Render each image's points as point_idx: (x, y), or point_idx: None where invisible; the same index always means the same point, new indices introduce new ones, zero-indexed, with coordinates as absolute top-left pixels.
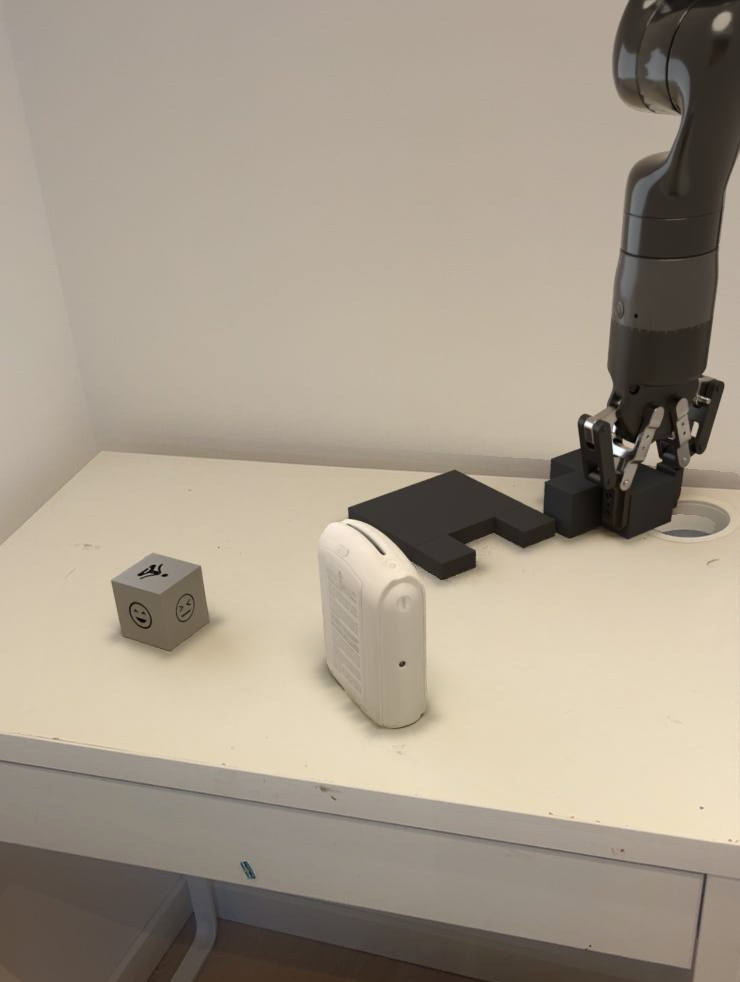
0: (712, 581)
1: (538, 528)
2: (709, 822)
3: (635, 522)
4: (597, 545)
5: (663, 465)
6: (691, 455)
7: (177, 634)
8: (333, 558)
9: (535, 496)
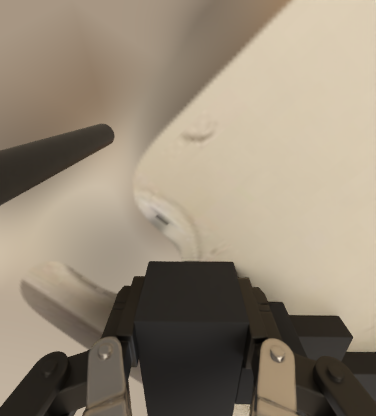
0: (254, 79)
1: (325, 333)
2: None
3: (224, 278)
4: (273, 273)
5: (132, 357)
6: (75, 357)
7: None
8: None
9: None
